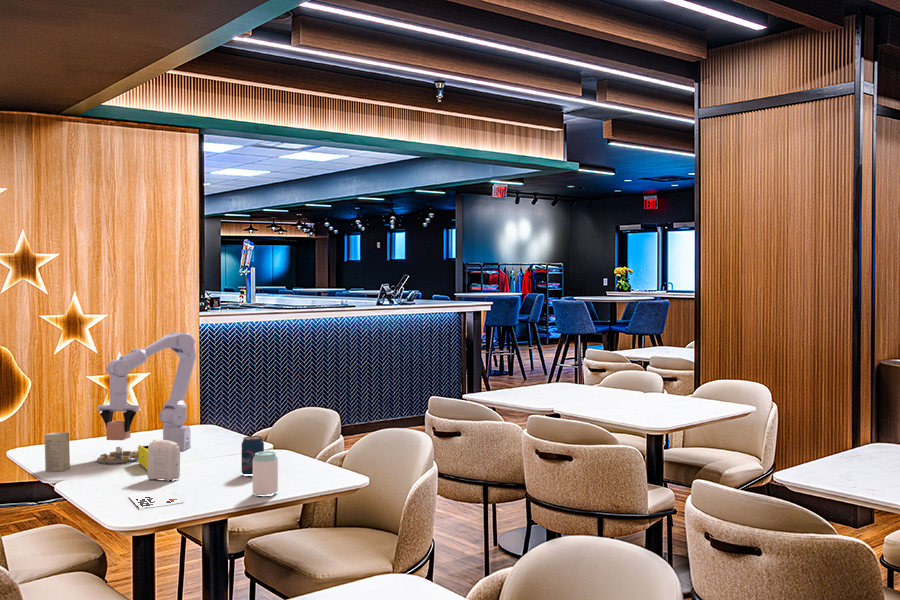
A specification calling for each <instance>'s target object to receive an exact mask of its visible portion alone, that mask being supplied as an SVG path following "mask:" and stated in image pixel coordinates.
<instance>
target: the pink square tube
mask: <svg viewBox="0 0 900 600" xmlns="http://www.w3.org/2000/svg"><path fill="white" fill-rule="evenodd" d="M129 438H131V430H130V431H128V432H125V422H124V420H112V422H109V423H107V428H106V441H125V440H126V439H127V440H128V439H129Z"/></svg>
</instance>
